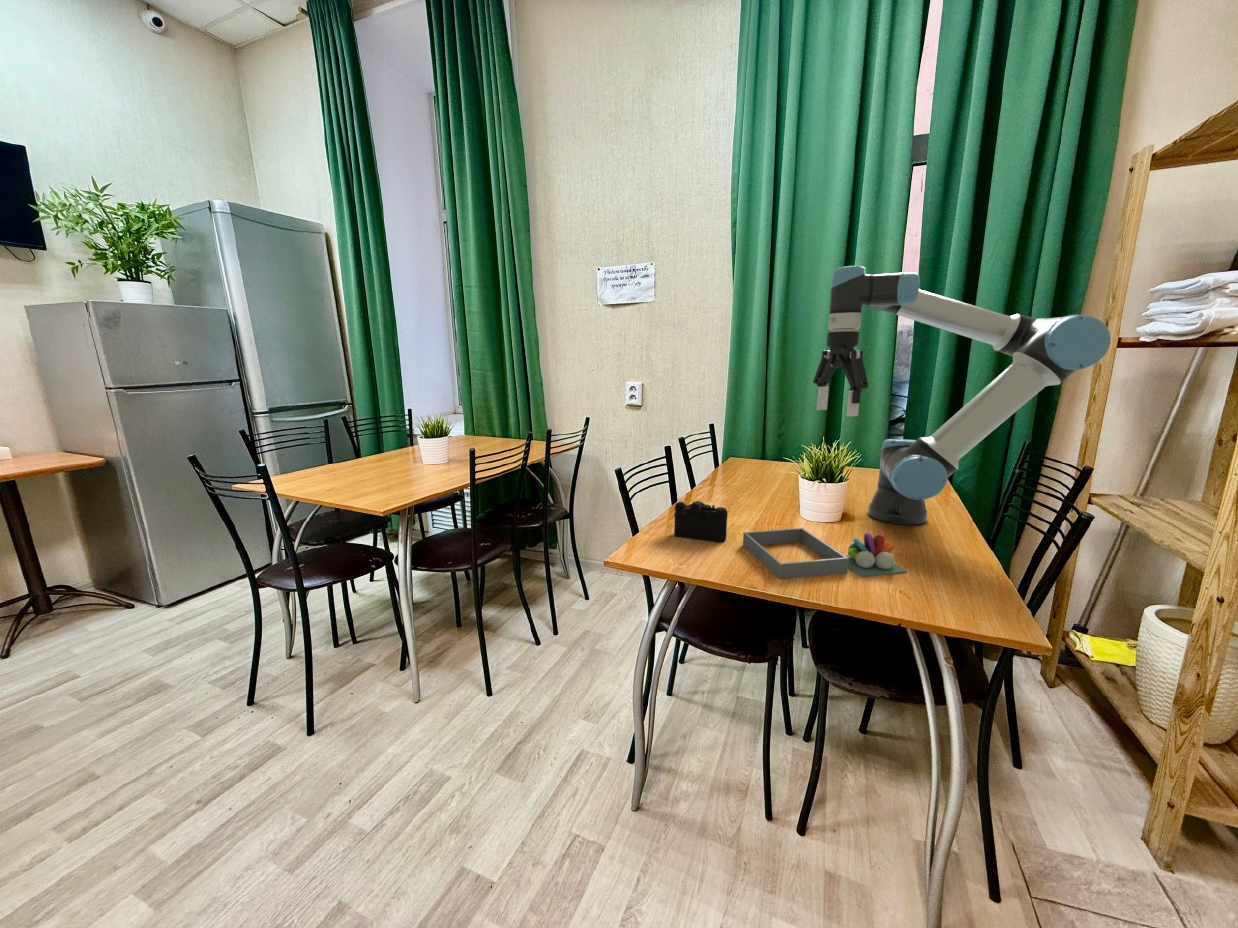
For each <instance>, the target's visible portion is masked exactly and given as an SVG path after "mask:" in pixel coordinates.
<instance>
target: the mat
mask: <svg viewBox="0 0 1238 928" xmlns="http://www.w3.org/2000/svg"><path fill="white" fill-rule="evenodd" d="M845 556H846V557H848V558H849V561H848V569H850V570H851V571H853V572H854V573H855V574H858V575H859V576H860V577H861V578H865V577H874V576H875V577H877V576H883V575H884V576H885V575H894V574H903V573H904V574H905V573H907V570H906V569H904V568H902V567H901V566H899V564H898V565H897V564H896V563H894V564H893V566H892V567H891V568H889V569H881V568H879V567H877V566H876V564H875V563H874V564H873V566H871V567H869V568H862V567H860V566H858V565H857V563H856V561H855V559H854V558H852V557H850V556H849V555H845Z"/></svg>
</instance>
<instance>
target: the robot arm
mask: <svg viewBox="0 0 1238 928" xmlns="http://www.w3.org/2000/svg"><path fill="white" fill-rule="evenodd" d="M866 271H867V270H866V267H864V266H862V265H848V266H847V265H846V266H842V267H838V268H836V269H835V270H834V271H833V274H832V280H831V287H830V299H829V300H830V301H829V303H830V304H829V315H828V316H829V317H828V324H827V325H828V327H827V328H828V330H829V331H830V332H827V335H826V336H827V337H826V346H827V347H830V349H823V350H822V353H821V358H820V361H819V364H818V367H817V369H816V371H815V375H814V377H813V384H816V386H817V395H816V396H817V398H816V399H817V401H816V411H827V409H828V398H829V391H830V390H829V388H830V387H829V386H830V385H829V382H830V381H831V379H832V377H833V376H834V374H835V372H836V371H837V370H838V369H841V370H843V372H844V374H845V377H846V379H847V382H848V384H849V386H850V388H849V389H848V395H847V403H846V404H847V405H846V417H859V409H860V403H861V397H862V396H861V394H862V391H863V390H865V389H868V388H869V384H868V378H867V374H866V369H865V364H864V363H865V362H864V360H863V359H864V357H863V355H864V350H863V349H855V347H858V345H859V341H860V332H859V331H858V330H859V329H861V321H862V309H863V307H869V308H870V309H872V310H874V311H883V312H887V313H889V314H894V315H897V316H899V317H903V318H906V319H908V320H912V321H914V322H915V321H916V322H919V323H920V324H925V325H927V326H931V327H934V328H938V329H941V330H944V331H947V332H950V333H953V334H957V335H959V336H963V337H966V338H969V339H972V340H976V341H979V342H981V343H986V344H988V345H991V346H992V348H993V350H994V351H996V352H999V353H1002V354H1005V355H1008V356H1010V357H1012V363H1011V364H1010V365H1009V366H1007V367H1006V368H1005V369H1004V371H1002V372H1001V373H1000V374H998V376H997V377H995V378H994V379H993V380H992V381H991V382H990V383H988V384H987V386H985V387H983V388H982V390H981V391H980V392H979V393H977V394H976V395H975V396H974V397H973V398H972V399H971V400H969V402H967V403H966V404H965V405H964V406H962V407H961V408H960V410H958V411H957V412H956V413H955V414H953V416H952V417H950V418H949V419H948V420H947V421H946V422H944V424H942V425H941V426H940V427H939V428H938V429H936V430H935V432H933V433H932V434H931V435H930V436H922V437H921V436H920V437H918V438H917V439H901V438H900V439H899V438H897V439H895V438H887V439H885V440H883V441H882V445H881V448H880V451H881V453H880V462H879V469H878V481H877V487H876V490H875V492H874V495H873V496H872V499H871V502H870V503H869V504H868V509H867V514H868V515H869V517H872V518H874V519H876V520H878V521H881V522H885V523H889V524H896V525H907V526H909V525H910V526H912V525H913V526H915V525H916V526H917V525H922V524H925V523H926V522H927V520H928V510H927V508H926V502H925V500H929V499H931V498H934V497H936V496H937V495H938V494H940V493H941V492H942V491H944V488H945V487H946V486H947V482H948V479H949V477H950V476H952V475H953V474H954V473H955V472H956V471H958V469H959V461H960V460H961V458H963V457H964V456H965V455H966V454H967V453H968V452H969V451H971V450H972V449H973V448H974V447H977V445H978V444H979V443H981V442H982V441H983V440H984V439H985V438H986V437H988V436H989V435H990V434H991V433H993V431H994V430H996V429H997V428H998V427H999V426H1000V425H1001V424H1003V423H1004V422H1005V421H1007V420H1008V419H1009V418H1010V417H1011V416H1012V415H1014V414H1015V413H1016V412H1017V411H1018V410H1020V409H1021V408H1022V407H1023V406H1024V405H1026V404H1027V403H1028V402H1029V401H1030V400H1031V399H1033V398H1034V397H1035V396H1036V395H1038V393H1040V392H1041V391H1042V390H1044V389H1045V387H1048V386H1059V385H1060V384H1061V383H1064V381H1065V380H1066V379H1067V378H1069V377H1070V376H1071V375H1073V374H1074V373H1075V372H1076V371H1079V370H1084V369H1086V368H1087V369H1088V368H1089V367H1092V366H1094V365H1095V364H1097V363H1098V362H1100V361H1101V360H1102V359H1103V358H1104V357H1105V355H1106V354H1107V353H1108V351H1109V349H1110V346H1111V332H1110V330H1109V328H1108V326H1107V325H1106V323H1105V322H1103V321H1102V319H1101V320H1100V319H1099V318H1097V317H1094V316H1091V315H1085V314H1084V315H1083V314H1069V315H1065V316H1060V317H1059V316H1058V317H1044V318H1043V317H1040V318H1039V317H1031V316H1026V315H1022V314H1019V313H1016V314H1013V315H1007V314H1003V313H999V312H996V311H992V310H990V309H986V308H983V307H980V306H976V305H973V304H970V303H967V302H966V303H965V302H963V301H960V300H956V299H953V298H949V297H946V296H943V295H940V294H936V293H932V292H929V291H927V290H922V289H920V284H921V278H920V274H919V273H917V272H905V271H902V272H893V273H880V274H879V273H877V274H870V273H868V274H867V272H866Z"/></svg>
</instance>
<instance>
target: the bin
mask: <svg viewBox="0 0 1238 928" xmlns="http://www.w3.org/2000/svg"><path fill="white" fill-rule="evenodd" d="M742 534H743V535H742V536H743V538H742V547H744V548H745V549H746V550H747V551H748V552H750V554H751V555H753V556H754V557H755V558H756V559H757V560H758V561H759V562H760V563H761V564H762V565H763V566H765V567H766V568H767V570H769V571H770V572H771V573H772V574H773V575H774V576H775V577H777V579H778V580H786V579H797V578H807V577H819V576H827V575H829V576H830V575H838V574H839V575H840V574H847V573H848V570H849V568H848V561H849V558H848V557H846V556H847V555H844V554H843V553H841V552H840V551H838V550H837V549H835V548H834V547H832V546H831V545H829V544H828V543H826V542H825V541H823V540H822V539H820V538H819V537H817V536H816V535H814V534H813V533H811V532H809V530H806V529H805V528H803V527H797V528H796V527H795V528H783V529H782V528H781V529H772V530H771V529H770V530H758V531H757V530H756V531H747V532H746V531H745V532H743V533H742ZM786 543H787V544H788V543H802V544H803V545H805V546H806V547H807V548H809V549H810V550H812V551H813V552H815V553H816V554H818V555H819V556H820V557H822V558H823V559H811V560H800V561H791V562H781V561H780V560H779V559H778V558H777V557H776V556H774V555H773V554H772V553H770V552H769V551H768V550H767V549H766V548H765V547H764V545H765V546H766V545H775V544H776V545H778V544H786Z"/></svg>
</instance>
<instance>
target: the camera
mask: <svg viewBox="0 0 1238 928" xmlns="http://www.w3.org/2000/svg"><path fill="white" fill-rule="evenodd" d="M728 513H729V511H728V510H727V508H725V507H721V506H719V507H715V505H714V504H712V505H710V504H705V503H704V502H702V501H699V500H696V501H692V502H691V503H690V504H688V505H687V504H686V503H684V501H683V500H680V501H678V502H677V503H675V506H674V514H673V515H674V526H673V527H674V528H673V529H674V530H673V532H674V537H675V538H682V539H689V540H694V541H696V540H697V541H703V542H712V543H720V544H722V543H724V542H726V541H727V529H728V526H727V525H728V523H727V522H728V521H727V520H728Z"/></svg>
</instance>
